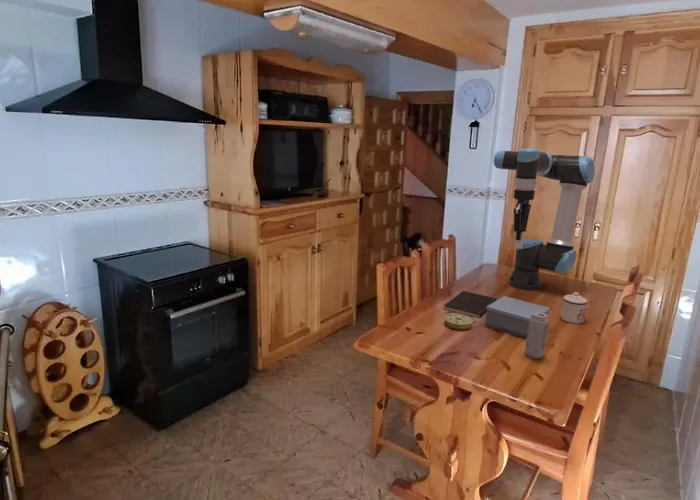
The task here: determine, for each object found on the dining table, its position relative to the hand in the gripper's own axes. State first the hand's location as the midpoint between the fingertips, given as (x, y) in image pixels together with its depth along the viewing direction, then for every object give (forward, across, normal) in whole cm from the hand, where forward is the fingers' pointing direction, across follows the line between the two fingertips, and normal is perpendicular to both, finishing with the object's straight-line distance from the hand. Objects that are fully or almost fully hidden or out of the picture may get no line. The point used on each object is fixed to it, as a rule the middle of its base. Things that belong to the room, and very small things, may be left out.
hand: (518, 247), depth 183 cm
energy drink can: (+28, -32, -20) cm, 47 cm away
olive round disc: (+28, -27, +11) cm, 41 cm away
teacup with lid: (+30, +12, -21) cm, 38 cm away
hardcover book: (+30, -4, +16) cm, 34 cm away
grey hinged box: (+29, -12, -7) cm, 32 cm away
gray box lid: (+21, -12, -7) cm, 26 cm away
